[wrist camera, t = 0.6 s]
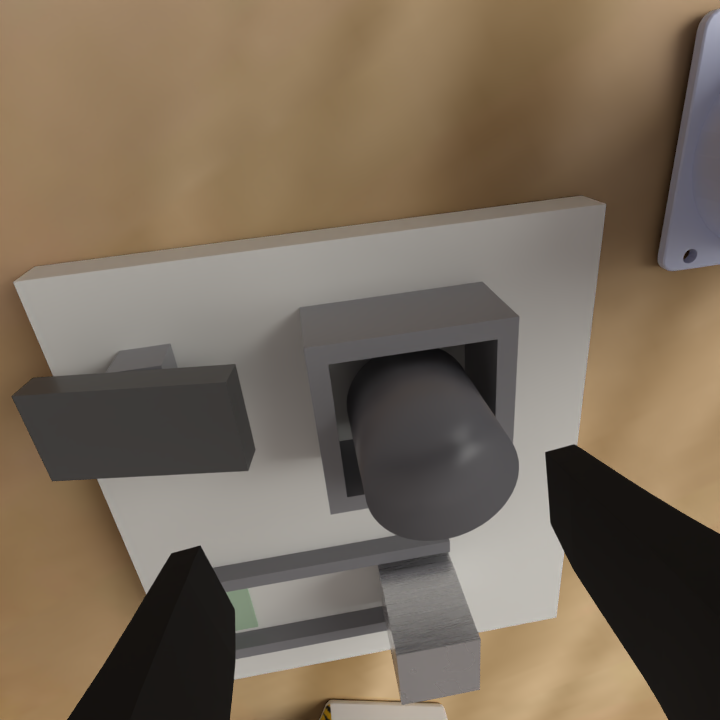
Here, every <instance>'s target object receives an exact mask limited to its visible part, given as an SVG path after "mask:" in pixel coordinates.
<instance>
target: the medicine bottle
mask: <svg viewBox="0 0 720 720" xmlns="http://www.w3.org/2000/svg"><path fill="white" fill-rule="evenodd" d="M319 720H448V719H447V715H446V712H445V709H444V707H443V705H441V704H439V703H411V704H406V705H402V704H401V702H386V701H358V700H329V701H328V702H327V703H326V705H325V707H324V710H323V712H322V715H321V717H320V719H319Z"/></svg>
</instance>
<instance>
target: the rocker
mask: <svg viewBox="0 0 720 720" xmlns="http://www.w3.org/2000/svg"><path fill="white" fill-rule="evenodd" d="M12 398H13V401H14V403H15V405H16V407H17V409H18V411H19V413H20V415H21V417H22V419H23V421H24V424H25V426H26V428H27V430H28V432H29V434H30V436H31V438H32V440H33V442H34V444H35V446H36V449H37V451H38V453H39V455H40V457H41V459H42V461H43V463H44V465H45V467H46V469H47V471H48V474H49V476H50V478H51V480H52V481H65V480H84V479H104V478H123V477H143V476H162V475H181V474H201V473H220V472H240V471H249V468H250V465H251V462H252V459H253V456H254V453H255V450H256V449H255V445H254V440H253V436H252V432H251V428H250V423H249V419H248V415H247V411H246V406H245V402H244V398H243V394H242V389H241V385H240V381H239V377H238V373H237V368H236V364H228V365H214V366H199V367H184V368H170V369H155V370H140V371H125V372H111V373H96V374H81V375H67V376H52V377H37V378H32V379H31V380H30V381H29V382H27V383H26V384H25V385H24V386H23V387H22V388H20V389H19V390H18V391H17V392H16V393H15V394H13V395H12Z"/></svg>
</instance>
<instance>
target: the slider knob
mask: <svg viewBox="0 0 720 720" xmlns="http://www.w3.org/2000/svg"><path fill="white" fill-rule="evenodd" d="M378 572H379V581H380V590H381V598H382V607H383V614H384V619H385V624H386V629H387V634H388V639H389V644H390V649H391V654H392V659H393V664H394V669H395V674H396V679H397V684H398V689H399V694H400V699H401V704H402V705H406V704H411V703H416V702H421V701H426V700H431V699H436V698H440V697H445V696H450V695H455V694H460V693H465V692H470V691H475V690H480V637H479V634H478V631H477V629H476V626H475V623H474V620H473V618H472V615H471V612H470V610H469V607H468V604H467V601H466V599H465V596H464V593H463V590H462V588H461V585H460V582H459V580H458V577H457V574H456V571H455V569H454V566H453V563H452V560H451V558H450V555H449V552H446V553H441V554H435V555H429V556H424V557H418V558H413V559H407V560H402V561H396V562H391V563H385V564H380V565H378Z"/></svg>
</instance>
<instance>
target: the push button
mask: <svg viewBox="0 0 720 720" xmlns="http://www.w3.org/2000/svg"><path fill="white" fill-rule="evenodd" d="M347 413H348V418H349V423H350V427H351V432H352V437H353V442H354V446H355V451H356V456H357V460H358V465H359V470H360V475H361V479H362V484H363V489H364V493H365V498H366V503H367V506H368V508H369V511H370V512H371V514H372V516H373V517H374V519H375V520H376V521H377V522H378V523H379V524H380V525H381V526H382V527H384V528H385V529H386V530H388V531H390V532H391V533H393V534H395V535H398V536H400V537H403V538H407V539H412V540H418V541H437V540H445V539H449V538H454V537H457V536H460V535H463V534H465V533H468V532H470V531H472V530H474V529H476V528H478V527H479V526H481V525H483V524H484V523H486V522H487V521H488V520H490V519H491V518H492V517H493V516H494V515H496V514H497V513H498V512H499V511H500V510H501V509H502V507H503V506H504V505H505V504H506V502H507V501H508V499H509V498H510V496H511V494H512V493H513V490H514V488H515V486H516V483H517V479H518V474H519V460H518V455H517V452H516V449H515V447H514V445H513V443H512V442H511V440H510V438H509V437H508V435H507V434H506V432H505V431H504V429H503V428H502V426H501V425H500V423H499V422H498V420H497V419H496V417H495V416H494V414H493V413H492V411H491V410H490V408H489V407H488V405H487V404H486V402H485V401H484V399H483V398H482V396H481V395H480V393H479V392H478V390H477V389H476V387H475V386H474V384H473V383H472V381H471V379H470V378H469V376H468V375H467V373H466V372H465V370H464V369H463V367H462V366H461V365H460V363H459V362H458V361H457V360H456V359H455V358H454V357H453V356H452V355H450V354H449V353H447V352H446V351H444V350H442V349H439V348H436V349H429V350H423V351H416V352H409V353H403V354H396V355H389V356H383V357H376V358H372V359H370V360H369V361H368V362H367V363H366V364H365V365H364V366H363V367H362V368H361V369H360V370H359V371H358V373H357V374H356V376H355V377H354V379H353V381H352V383H351V385H350V388H349V391H348V395H347Z"/></svg>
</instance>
